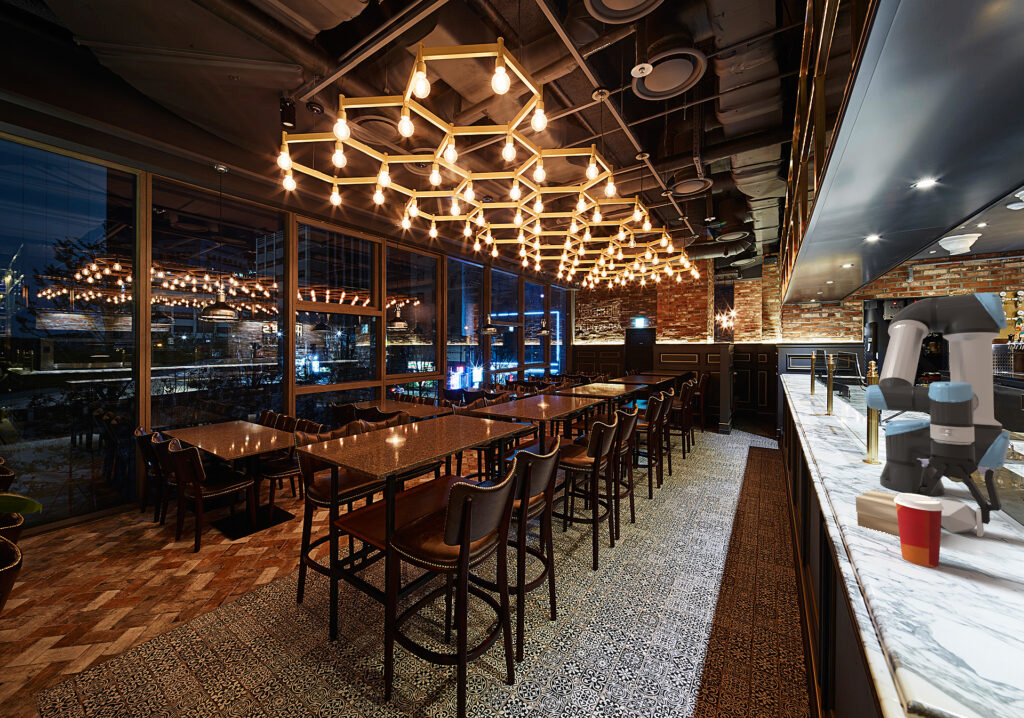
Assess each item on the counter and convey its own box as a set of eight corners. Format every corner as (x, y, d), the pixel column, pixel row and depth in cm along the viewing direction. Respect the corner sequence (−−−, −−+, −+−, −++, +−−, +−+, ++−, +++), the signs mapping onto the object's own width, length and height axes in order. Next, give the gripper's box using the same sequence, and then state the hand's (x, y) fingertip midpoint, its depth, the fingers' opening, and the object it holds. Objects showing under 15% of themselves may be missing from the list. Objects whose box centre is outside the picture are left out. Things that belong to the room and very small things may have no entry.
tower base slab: (872, 517, 109) (872, 503, 109) (928, 532, 99) (928, 516, 99) (857, 527, 103) (857, 512, 103) (915, 543, 94) (915, 527, 94)
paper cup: (930, 554, 87) (928, 493, 87) (956, 572, 80) (953, 506, 80) (886, 550, 90) (885, 490, 90) (908, 567, 83) (906, 502, 83)
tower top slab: (873, 503, 109) (873, 489, 109) (928, 517, 99) (928, 501, 99) (856, 511, 104) (855, 497, 104) (912, 526, 94) (912, 510, 94)
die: (988, 543, 93) (992, 506, 96) (949, 524, 95) (955, 488, 98) (952, 540, 101) (957, 506, 104) (917, 522, 102) (923, 490, 105)
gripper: (893, 437, 106) (895, 519, 106) (1015, 450, 88) (1018, 549, 88) (901, 433, 110) (903, 513, 110) (1019, 446, 92) (1022, 540, 92)
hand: (954, 529), depth 99 cm, fingers closed on die, 8 cm apart
